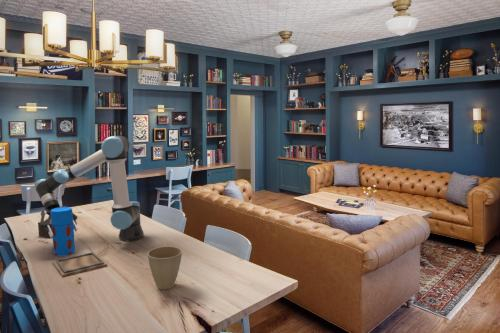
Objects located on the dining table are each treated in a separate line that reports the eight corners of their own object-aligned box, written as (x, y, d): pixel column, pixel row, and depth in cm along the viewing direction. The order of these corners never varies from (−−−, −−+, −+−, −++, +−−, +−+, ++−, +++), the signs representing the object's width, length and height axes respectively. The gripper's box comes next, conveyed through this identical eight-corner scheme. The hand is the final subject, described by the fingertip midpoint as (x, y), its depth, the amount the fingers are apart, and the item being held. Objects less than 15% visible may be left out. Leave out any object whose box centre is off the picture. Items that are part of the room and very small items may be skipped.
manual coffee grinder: (51, 238, 234) (49, 210, 232) (38, 236, 238) (36, 209, 235) (70, 231, 248) (69, 205, 246) (58, 229, 252) (56, 203, 250)
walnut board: (94, 254, 206) (94, 251, 206) (107, 266, 190) (107, 262, 190) (52, 263, 193) (52, 260, 193) (62, 277, 177) (62, 273, 177)
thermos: (61, 257, 202) (58, 212, 199) (49, 254, 207) (46, 210, 204) (79, 251, 211) (76, 208, 208) (67, 248, 217) (64, 206, 213)
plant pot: (151, 296, 158) (150, 260, 156) (146, 282, 171) (145, 249, 169) (186, 289, 164) (185, 255, 162) (178, 276, 177) (177, 244, 175)
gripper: (70, 202, 225) (84, 231, 218) (25, 211, 206) (39, 242, 199) (73, 195, 221) (88, 224, 214) (28, 202, 202) (42, 235, 195)
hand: (64, 233), depth 206 cm, fingers open, 13 cm apart
